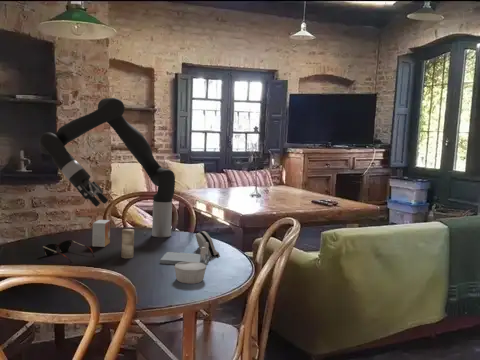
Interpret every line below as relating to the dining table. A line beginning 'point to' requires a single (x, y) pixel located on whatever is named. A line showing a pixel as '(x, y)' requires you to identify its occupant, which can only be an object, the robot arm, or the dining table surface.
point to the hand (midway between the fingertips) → (102, 203)
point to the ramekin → (190, 272)
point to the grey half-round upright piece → (205, 237)
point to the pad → (187, 256)
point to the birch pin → (127, 243)
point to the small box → (101, 233)
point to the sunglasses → (60, 248)
